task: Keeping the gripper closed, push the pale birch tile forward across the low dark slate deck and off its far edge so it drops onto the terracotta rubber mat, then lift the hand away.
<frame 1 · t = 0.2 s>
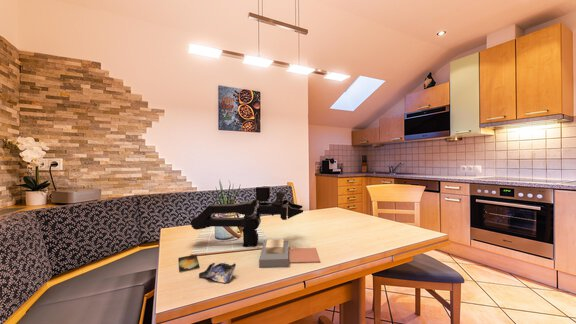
hand: (302, 208, 113), 16 cm above the table, tool horizontal, fingers open, 9 cm apart
slate deck: (275, 256, 99), on the table
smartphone: (188, 264, 94), on the table
terracotta mat: (303, 255, 99), on the table
birch tile: (275, 249, 99), point 3 cm above the table, touching slate deck
snack package: (217, 277, 83), on the table
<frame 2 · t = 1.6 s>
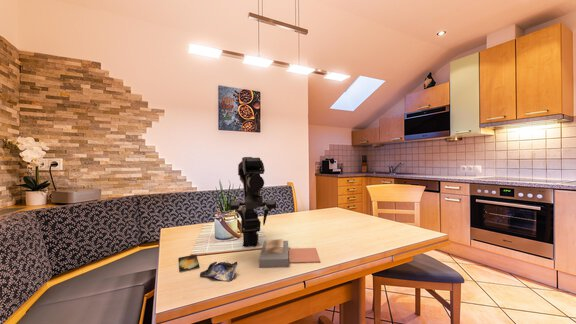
hand: (254, 225, 98), 13 cm above the table, tool pointing down, fingers open, 8 cm apart
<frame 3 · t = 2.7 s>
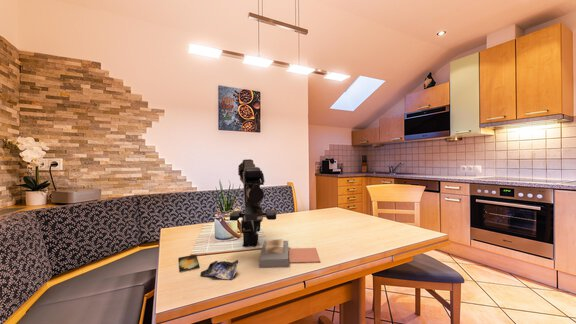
hand: (254, 235, 99), 9 cm above the table, tool pointing down, fingers closed
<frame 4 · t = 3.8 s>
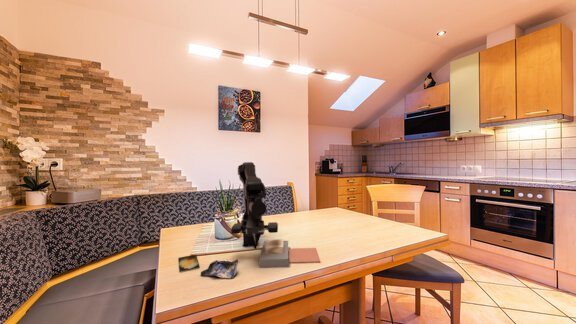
hand: (255, 248, 99), 4 cm above the table, tool pointing down, fingers closed
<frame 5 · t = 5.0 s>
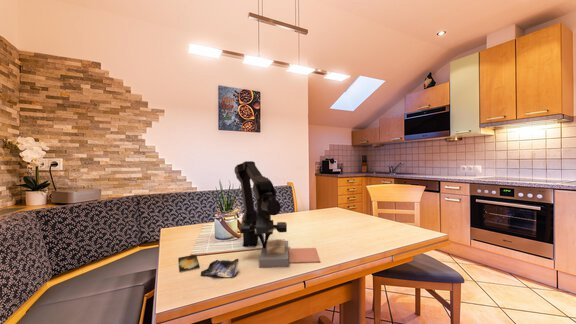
hand: (264, 248, 99), 4 cm above the table, tool pointing down, fingers closed
birch tile: (276, 249, 99), point 3 cm above the table, touching gripper
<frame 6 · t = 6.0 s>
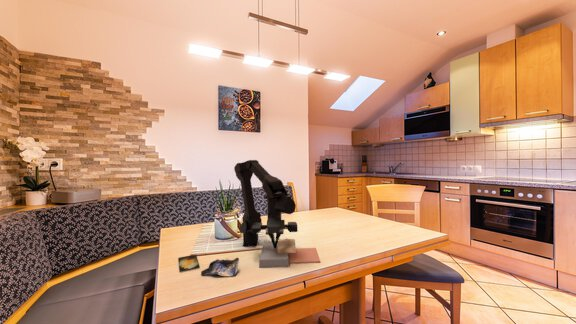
hand: (275, 247, 99), 4 cm above the table, tool pointing down, fingers closed
birch tile: (286, 248, 99), point 3 cm above the table, touching gripper
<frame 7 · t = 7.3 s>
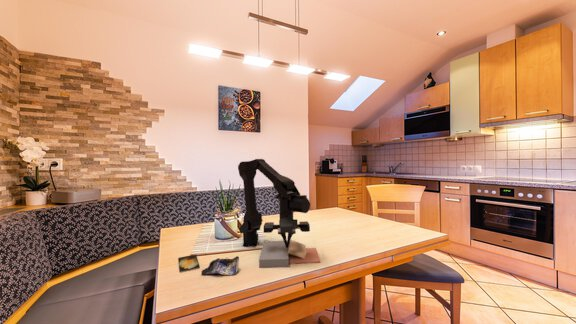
hand: (287, 247, 99), 4 cm above the table, tool pointing down, fingers closed
birch tile: (295, 251, 99), point 2 cm above the table, tilted 21°, touching gripper
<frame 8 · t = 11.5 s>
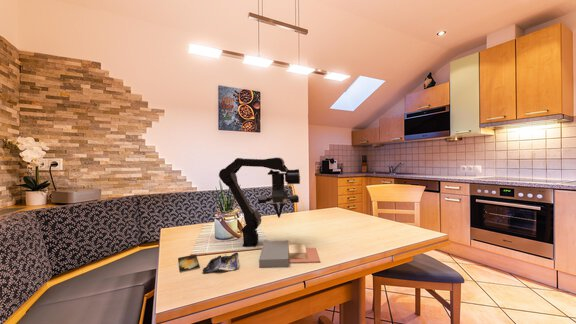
hand: (279, 217, 111), 13 cm above the table, tool pointing down, fingers closed
birch tile: (297, 254, 99), resting on terracotta mat
snack package: (220, 269, 89), on the table
everything else where it was.
at the end: birch tile inside the target area (3.3 cm from its centre), point 0.5 cm above the table; birch tile touching terracotta mat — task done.
